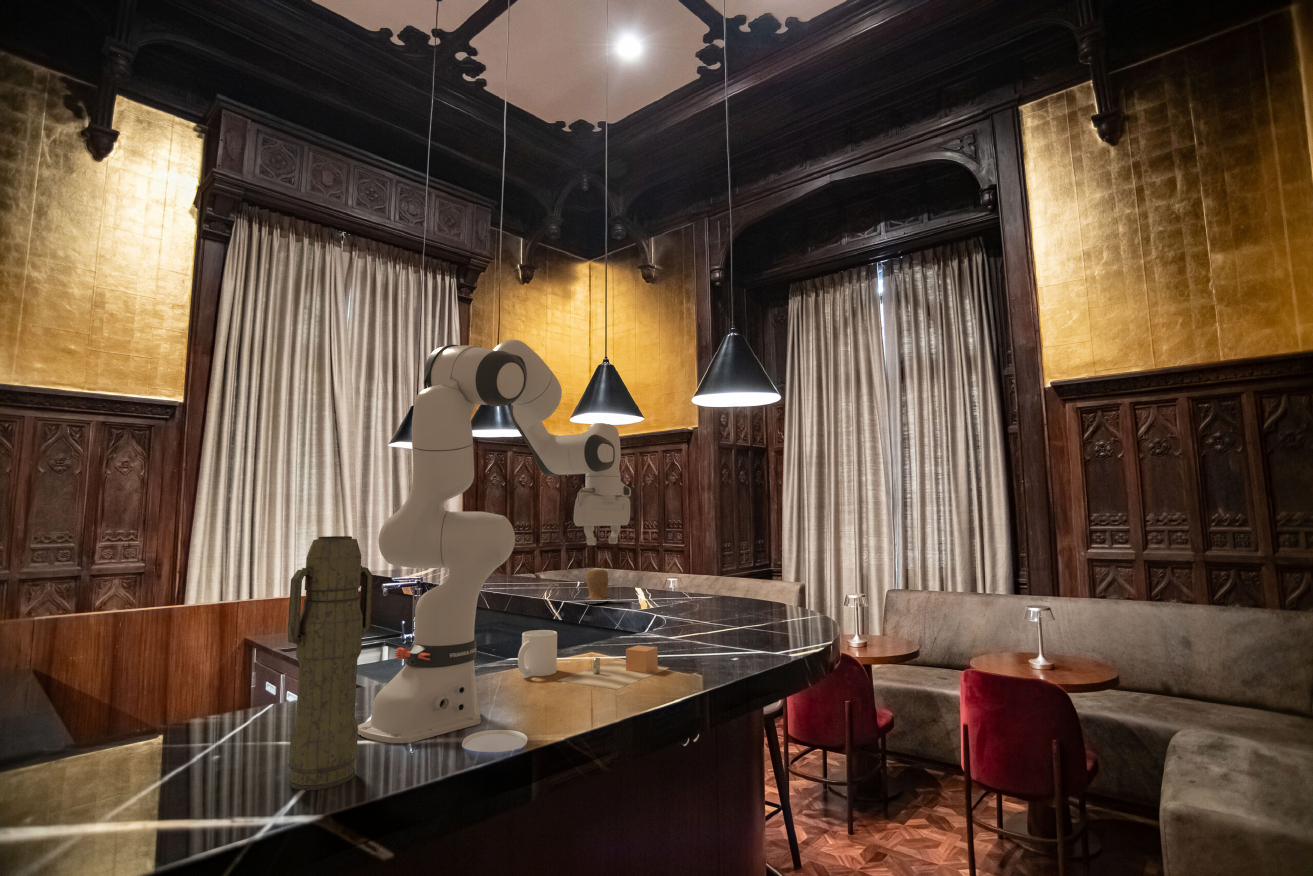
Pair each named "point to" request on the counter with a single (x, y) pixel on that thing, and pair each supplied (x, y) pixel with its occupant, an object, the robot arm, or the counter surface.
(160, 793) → the counter surface
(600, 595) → the stone cup
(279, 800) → the counter surface
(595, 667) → the pins
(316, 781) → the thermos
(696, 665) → the counter surface
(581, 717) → the counter surface
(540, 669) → the mug
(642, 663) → the tan wooden cube
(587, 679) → the board
